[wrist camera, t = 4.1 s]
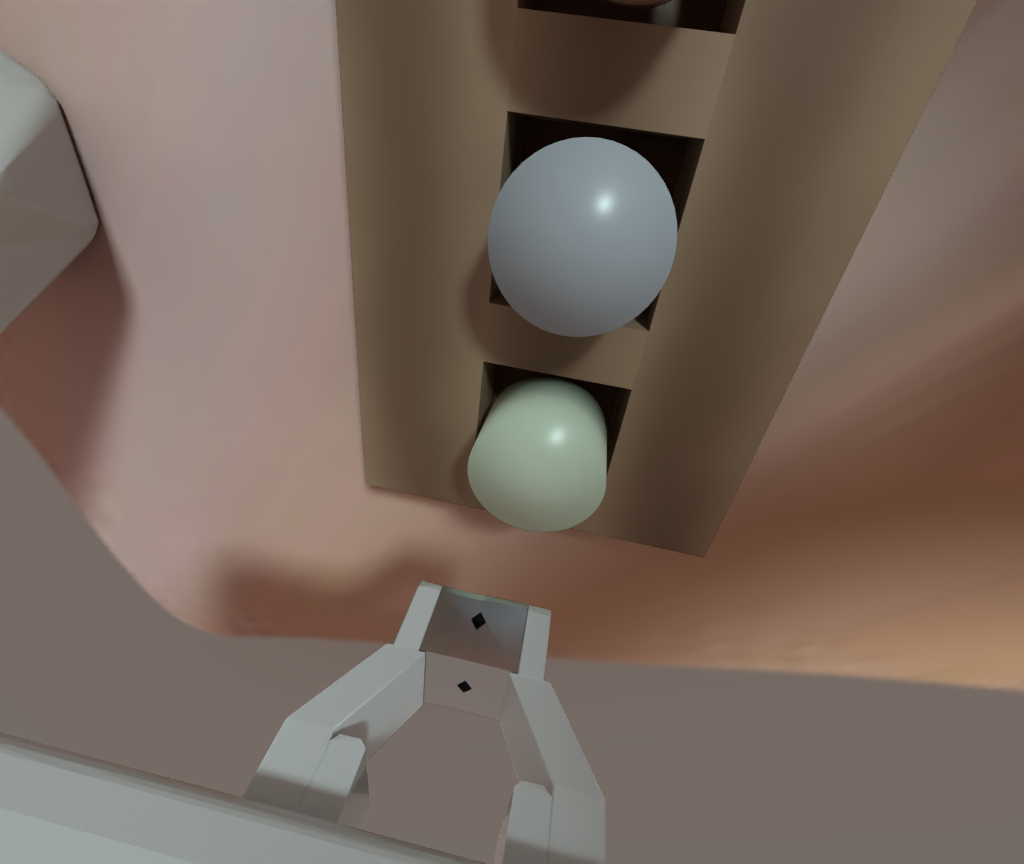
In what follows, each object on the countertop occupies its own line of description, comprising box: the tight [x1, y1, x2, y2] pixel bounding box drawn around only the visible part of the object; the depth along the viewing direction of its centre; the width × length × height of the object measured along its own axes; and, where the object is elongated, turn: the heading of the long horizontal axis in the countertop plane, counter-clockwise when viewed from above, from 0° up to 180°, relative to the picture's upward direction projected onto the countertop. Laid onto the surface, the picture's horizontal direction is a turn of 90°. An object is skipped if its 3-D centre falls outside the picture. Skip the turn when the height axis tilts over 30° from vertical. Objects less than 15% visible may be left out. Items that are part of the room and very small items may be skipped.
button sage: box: [468, 376, 607, 532], centre depth 16 cm, size 4×4×3 cm
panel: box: [336, 0, 978, 557], centre depth 14 cm, size 14×22×3 cm, turn 173°
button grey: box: [488, 137, 677, 337], centre depth 12 cm, size 4×4×3 cm
